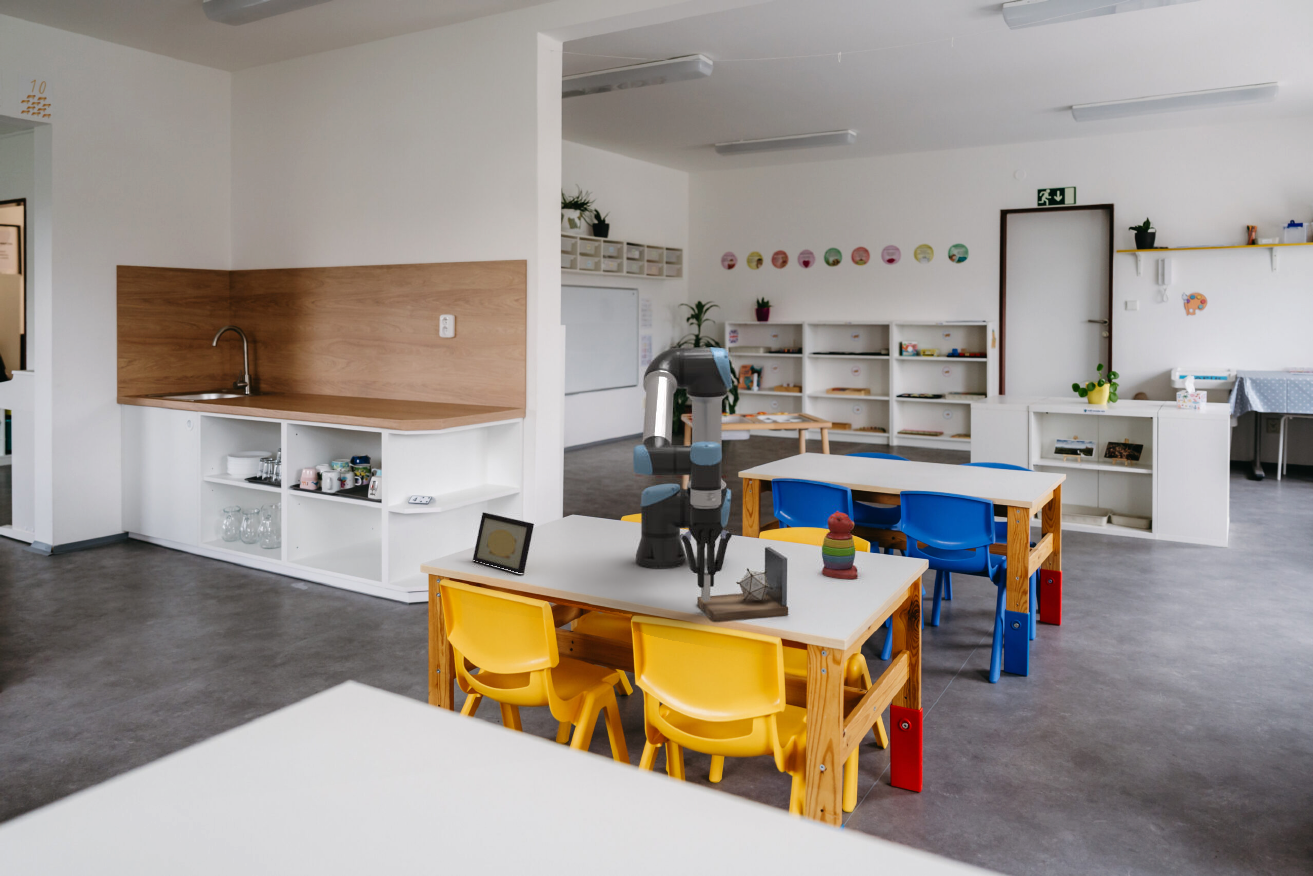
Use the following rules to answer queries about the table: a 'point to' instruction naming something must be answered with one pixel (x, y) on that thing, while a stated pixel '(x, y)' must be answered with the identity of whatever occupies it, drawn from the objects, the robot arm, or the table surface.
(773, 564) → the bookend
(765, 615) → the shelf plank
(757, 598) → the game die
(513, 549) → the picture frame
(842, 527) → the stacking bear
